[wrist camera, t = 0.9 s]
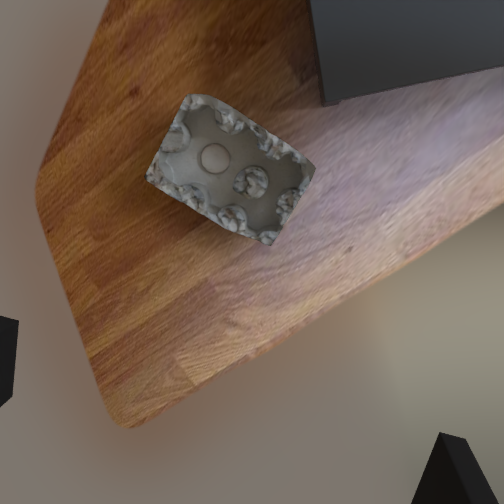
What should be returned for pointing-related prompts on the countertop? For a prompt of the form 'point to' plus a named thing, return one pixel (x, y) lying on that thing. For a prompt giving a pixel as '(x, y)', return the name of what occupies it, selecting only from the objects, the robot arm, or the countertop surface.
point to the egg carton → (230, 169)
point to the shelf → (401, 43)
